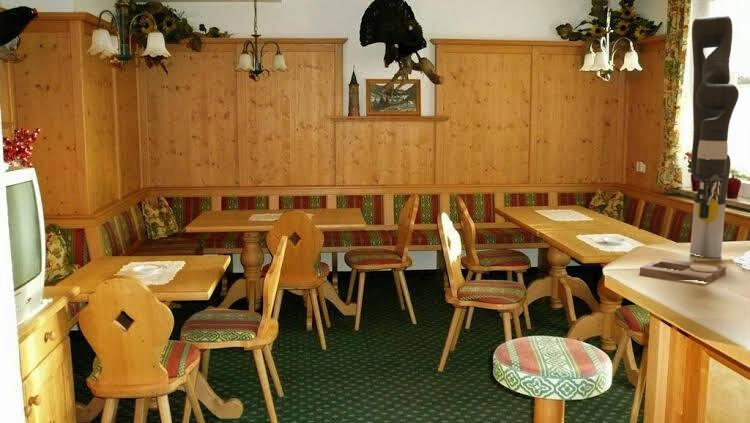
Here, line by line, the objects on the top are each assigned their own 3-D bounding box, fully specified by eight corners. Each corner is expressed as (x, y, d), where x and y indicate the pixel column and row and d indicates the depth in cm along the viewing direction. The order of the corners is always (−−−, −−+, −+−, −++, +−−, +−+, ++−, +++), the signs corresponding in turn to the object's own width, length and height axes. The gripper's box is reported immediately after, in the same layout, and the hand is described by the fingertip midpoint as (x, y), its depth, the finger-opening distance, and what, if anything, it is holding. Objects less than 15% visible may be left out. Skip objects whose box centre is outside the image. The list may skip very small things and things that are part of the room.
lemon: (719, 226, 206) (722, 197, 205) (698, 225, 207) (700, 196, 206) (714, 223, 212) (717, 195, 210) (694, 222, 213) (696, 194, 212)
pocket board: (663, 264, 227) (663, 257, 227) (725, 273, 215) (726, 267, 215) (639, 274, 214) (640, 267, 213) (704, 285, 202) (705, 277, 202)
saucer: (694, 265, 216) (695, 262, 216) (720, 269, 212) (720, 266, 212) (686, 269, 211) (686, 266, 211) (712, 273, 206) (712, 270, 206)
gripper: (706, 154, 214) (702, 212, 217) (689, 157, 204) (684, 218, 206) (734, 156, 210) (729, 215, 212) (717, 159, 199) (712, 221, 201)
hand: (707, 216), depth 209 cm, fingers closed on lemon, 5 cm apart
